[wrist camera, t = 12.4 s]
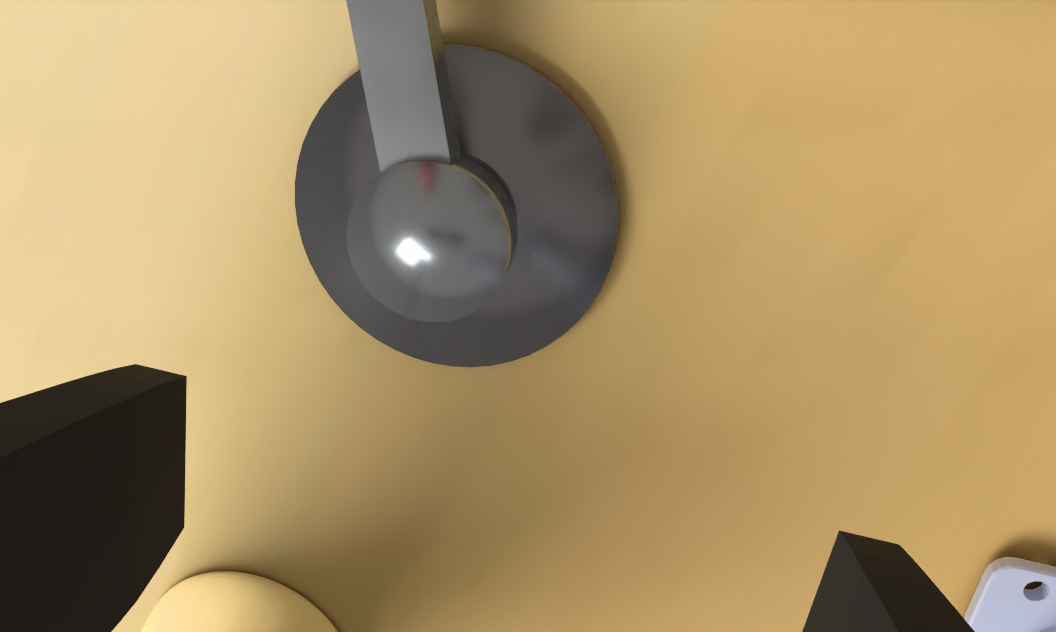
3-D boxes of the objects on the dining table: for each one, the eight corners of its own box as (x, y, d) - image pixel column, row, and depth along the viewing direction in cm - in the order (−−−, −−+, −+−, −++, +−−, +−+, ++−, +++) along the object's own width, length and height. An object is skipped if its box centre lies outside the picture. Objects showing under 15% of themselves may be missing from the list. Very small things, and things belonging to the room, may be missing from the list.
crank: (528, 298, 19) (481, 393, 15) (380, 309, 20) (299, 401, 16) (456, -190, 16) (373, -232, 12) (283, -157, 16) (150, -188, 12)
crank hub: (651, 79, 18) (648, 86, 17) (584, 391, 21) (580, 409, 20) (311, 13, 19) (293, 17, 18) (291, 324, 22) (274, 339, 21)
